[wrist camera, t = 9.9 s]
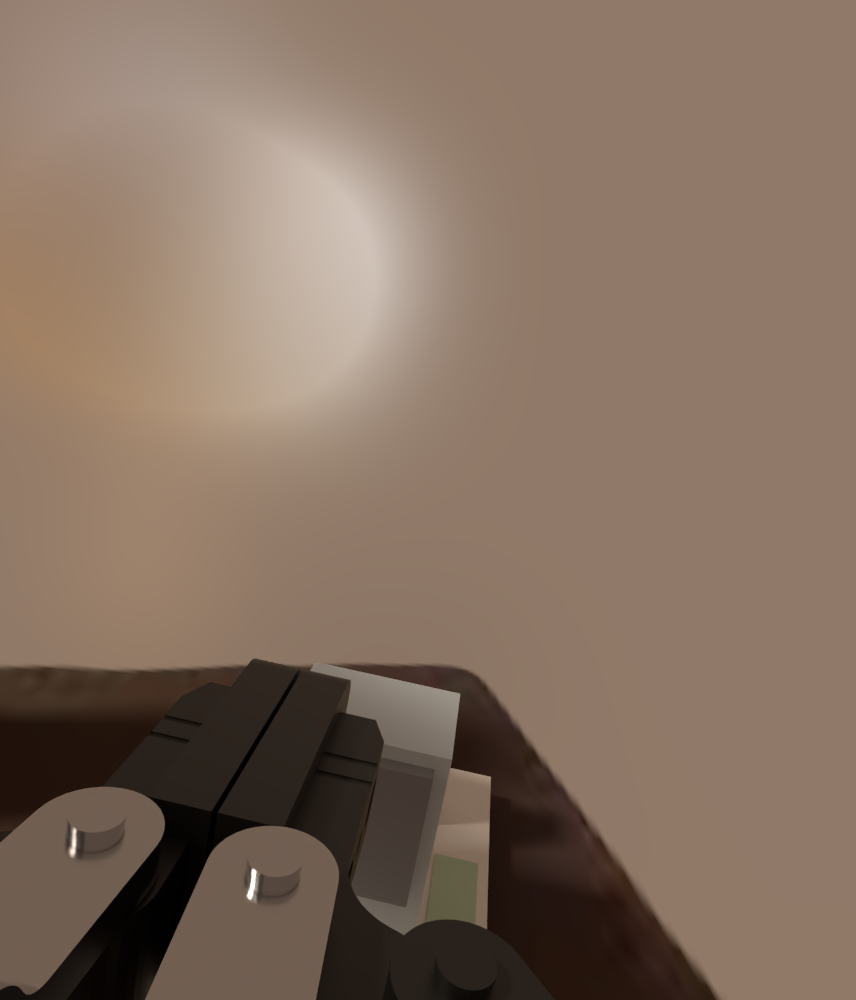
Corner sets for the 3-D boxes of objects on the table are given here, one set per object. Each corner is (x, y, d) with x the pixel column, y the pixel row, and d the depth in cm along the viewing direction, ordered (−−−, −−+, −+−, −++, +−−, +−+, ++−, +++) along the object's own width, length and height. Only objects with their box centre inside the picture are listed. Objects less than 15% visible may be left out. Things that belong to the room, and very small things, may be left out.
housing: (468, 1273, 20) (479, 1228, 20) (48, 1162, 21) (52, 1117, 21) (485, 800, 42) (491, 775, 42) (277, 753, 43) (281, 728, 42)
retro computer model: (402, 994, 27) (451, 769, 25) (238, 954, 27) (274, 729, 25) (419, 885, 32) (460, 693, 30) (283, 853, 32) (315, 661, 30)
